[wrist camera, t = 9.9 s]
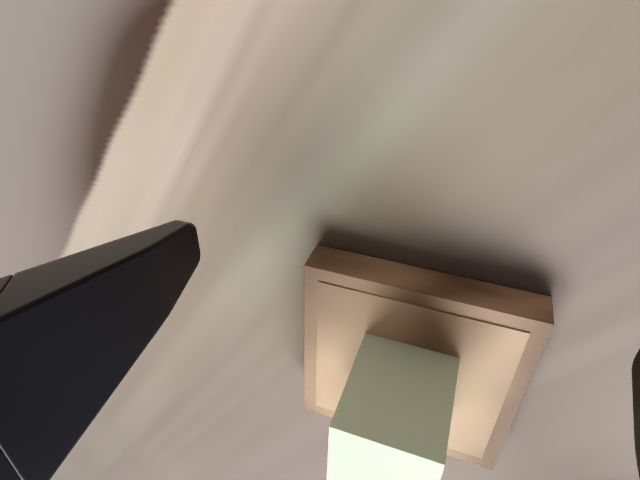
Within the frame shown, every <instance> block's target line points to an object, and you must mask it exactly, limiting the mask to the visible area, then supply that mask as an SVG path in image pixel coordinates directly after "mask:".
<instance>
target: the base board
mask: <svg viewBox="0 0 640 480" xmlns="http://www.w3.org/2000/svg"><path fill="white" fill-rule="evenodd" d="M553 326H554V318H553V305H552V297H551V296H546V295H542V294H537V293H533V292H528V291H524V290H519V289H515V288H510V287H506V286H501V285H497V284H492V283H488V282H483V281H479V280H474V279H470V278H465V277H461V276H456V275H452V274H447V273H443V272H438V271H434V270H429V269H425V268H420V267H416V266H411V265H407V264H402V263H398V262H393V261H389V260H384V259H380V258H375V257H371V256H366V255H362V254H357V253H353V252H348V251H344V250H339V249H335V248H330V247H326V246H321V245H317V246H316V248H315V249H314V251H313V252H312V254H311V255H310V257H309V259H308V260H307V262H306V263H305V265H304V408H305V409H308V410H311V411H314V412H317V413H320V414H323V415H326V416H329V417H332V418H333V416H334V413H335V410H336V408H337V405H338V403H339V400H340V397H341V395H342V392H343V390H344V387H345V384H346V382H347V379H348V376H349V374H350V371H351V369H352V366H353V363H354V361H355V358H356V356H357V353H358V350H359V348H360V345H361V343H362V340H363V337H364V335H365V333H368V334H372V335H376V336H379V337H383V338H387V339H390V340H394V341H398V342H402V343H405V344H409V345H413V346H416V347H420V348H424V349H428V350H431V351H435V352H439V353H442V354H446V355H450V356H454V357H457V358H460V363H459V370H458V377H457V384H456V391H455V398H454V405H453V412H452V419H451V426H450V432H449V439H448V446H447V453H446V455H449V456H452V457H455V458H458V459H461V460H464V461H467V462H471V463H474V464H477V465H480V466H483V467H486V468H489V469H492V470H493V468H494V465H495V463H496V461H497V458H498V456H499V454H500V451H501V449H502V447H503V444H504V442H505V439H506V437H507V435H508V432H509V430H510V428H511V425H512V423H513V421H514V418H515V416H516V413H517V411H518V409H519V406H520V404H521V402H522V399H523V397H524V395H525V392H526V390H527V387H528V385H529V383H530V380H531V378H532V376H533V373H534V371H535V369H536V366H537V364H538V361H539V359H540V357H541V354H542V352H543V350H544V347H545V345H546V343H547V340H548V338H549V336H550V333H551V331H552V328H553Z"/></svg>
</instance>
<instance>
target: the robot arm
mask: <svg viewBox="0 0 640 480" xmlns="http://www.w3.org/2000/svg"><path fill="white" fill-rule="evenodd" d="M199 260H200V248H199V242H198V236H197V230H196V227H195V226H194V224H192V223H189V222H184V221H180V220H175V221H172V222H169V223H166V224H163V225H160V226H157V227H154V228H151V229H148V230H145V231H142V232H139V233H136V234H133V235H130V236H126V237H123V238H120V239H117V240H114V241H111V242H108V243H105V244H102V245H99V246H96V247H93V248H90V249H87V250H84V251H81V252H78V253H75V254H72V255H69V256H66V257H63V258H60V259H57V260H54V261H51V262H48V263H45V264H42V265H39V266H36V267H33V268H30V269H27V270H24V271H21V272H18V273H15V274H14V275H8V276H5V277H2V278H0V480H50V479H51V477H52V476H53V475H54V473H55V472H56V471H57V469H58V468H59V466H60V465H61V464H62V462H63V461H64V460H65V458H66V457H67V455H68V454H69V453H70V451H71V450H72V448H73V447H74V446H75V444H76V443H77V442H78V440H79V439H80V437H81V436H82V435H83V433H84V432H85V431H86V429H87V428H88V426H89V425H90V424H91V422H92V421H93V420H94V418H95V417H96V415H97V414H98V413H99V411H100V410H101V408H102V407H103V406H104V404H105V403H106V402H107V400H108V399H109V397H110V396H111V395H112V393H113V392H114V391H115V389H116V388H117V386H118V385H119V384H120V382H121V381H122V379H123V378H124V377H125V375H126V374H127V373H128V371H129V370H130V368H131V367H132V366H133V364H134V363H135V362H136V360H137V359H138V357H139V356H140V355H141V353H142V352H143V350H144V349H145V348H146V346H147V345H148V344H149V342H150V341H151V339H152V338H153V337H154V335H155V334H156V333H157V331H158V330H159V328H160V327H161V326H162V324H163V323H164V321H165V320H166V318H167V317H168V315H169V314H170V312H171V310H172V309H173V307H174V305H175V304H176V302H177V300H178V298H179V297H180V295H181V293H182V291H183V290H184V288H185V286H186V284H187V283H188V281H189V279H190V277H191V276H192V274H193V272H194V270H195V269H196V267H197V265H198V263H199ZM632 390H633V415H634V439H635V452H636V459H637V466H638V472H639V478H640V349H639V351H638V353H637V355H636V356H635V358H634V361H633V365H632Z"/></svg>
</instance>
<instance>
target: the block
mask: <svg viewBox="0 0 640 480" xmlns="http://www.w3.org/2000/svg"><path fill="white" fill-rule="evenodd" d="M459 363H460V358H457V357H454V356H450V355H446V354H442V353H439V352H435V351H431V350H428V349H424V348H420V347H416V346H413V345H409V344H405V343H402V342H398V341H394V340H390V339H387V338H383V337H379V336H376V335H372V334H368V333H365V335H364V337H363V340H362V343H361V345H360V348H359V350H358V353H357V356H356V358H355V361H354V363H353V366H352V369H351V371H350V374H349V376H348V379H347V382H346V384H345V387H344V390H343V392H342V395H341V397H340V400H339V403H338V405H337V408H336V410H335V413H334V416H333V418H332V421H331V423H330V426H329V442H328V463H327V480H440V479H441V476H442V472H443V469H444V466H445V460H446V453H447V446H448V439H449V432H450V426H451V419H452V412H453V405H454V398H455V391H456V384H457V377H458V370H459Z"/></svg>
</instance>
